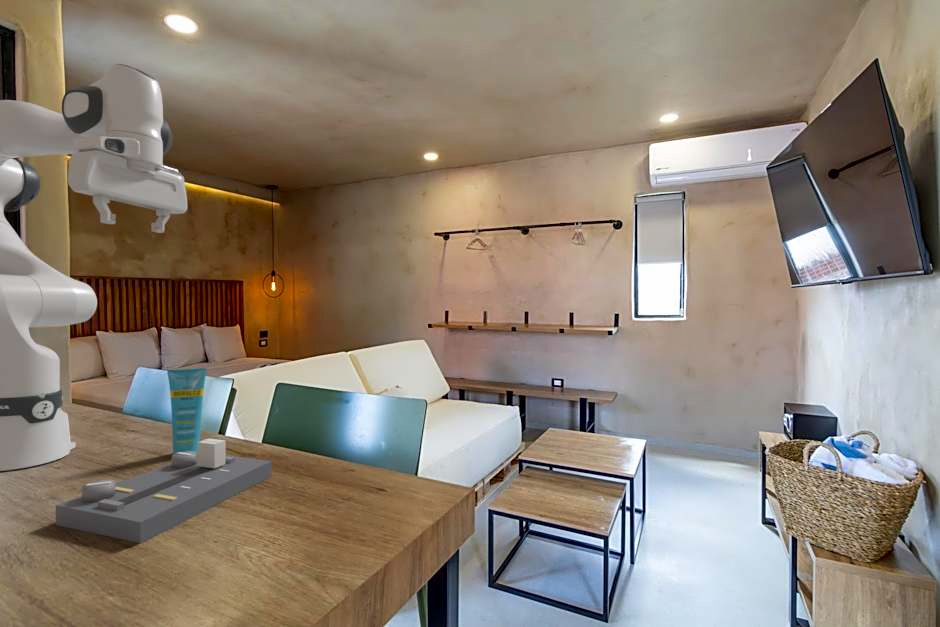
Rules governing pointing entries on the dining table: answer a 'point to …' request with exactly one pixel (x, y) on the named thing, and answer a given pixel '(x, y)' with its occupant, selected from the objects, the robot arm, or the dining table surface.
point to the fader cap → (211, 453)
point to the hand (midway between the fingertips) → (134, 228)
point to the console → (158, 497)
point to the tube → (186, 407)
